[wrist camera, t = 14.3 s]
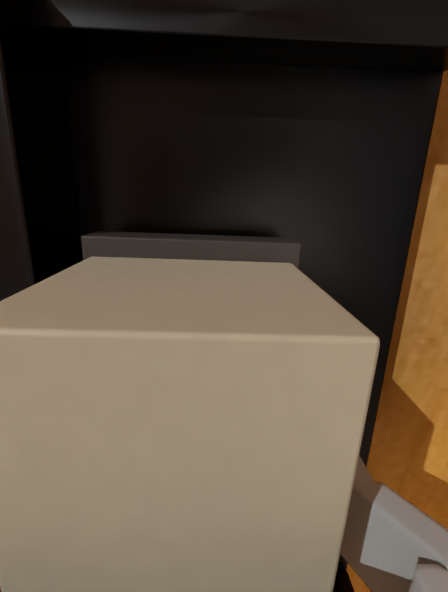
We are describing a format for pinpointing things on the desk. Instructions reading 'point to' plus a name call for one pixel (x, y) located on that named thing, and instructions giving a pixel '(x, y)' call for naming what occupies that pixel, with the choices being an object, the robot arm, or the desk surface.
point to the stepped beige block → (179, 420)
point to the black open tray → (223, 135)
